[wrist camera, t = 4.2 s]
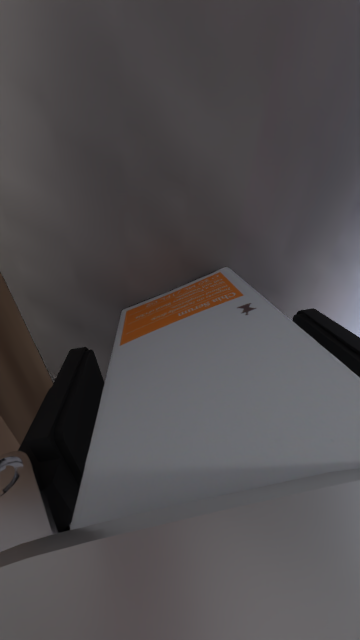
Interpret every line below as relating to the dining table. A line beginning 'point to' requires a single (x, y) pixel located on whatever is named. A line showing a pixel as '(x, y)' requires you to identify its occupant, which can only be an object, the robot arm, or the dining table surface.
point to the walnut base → (18, 375)
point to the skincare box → (213, 403)
